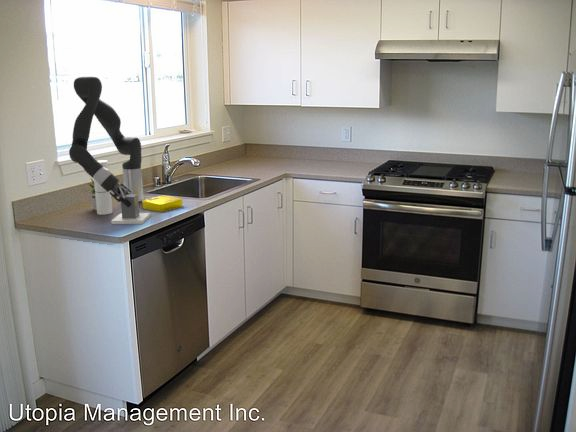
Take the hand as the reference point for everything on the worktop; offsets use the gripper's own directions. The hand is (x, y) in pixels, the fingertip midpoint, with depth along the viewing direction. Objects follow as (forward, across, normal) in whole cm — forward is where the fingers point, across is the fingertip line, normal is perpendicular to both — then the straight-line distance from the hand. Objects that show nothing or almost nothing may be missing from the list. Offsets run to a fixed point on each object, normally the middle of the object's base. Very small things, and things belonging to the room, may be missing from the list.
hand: (132, 203), depth 271 cm
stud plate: (+4, 0, +6) cm, 8 cm away
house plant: (-12, +23, +24) cm, 35 cm away
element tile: (+11, +25, +1) cm, 27 cm away
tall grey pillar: (+3, 0, +5) cm, 6 cm away
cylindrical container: (-7, +14, +18) cm, 24 cm away
